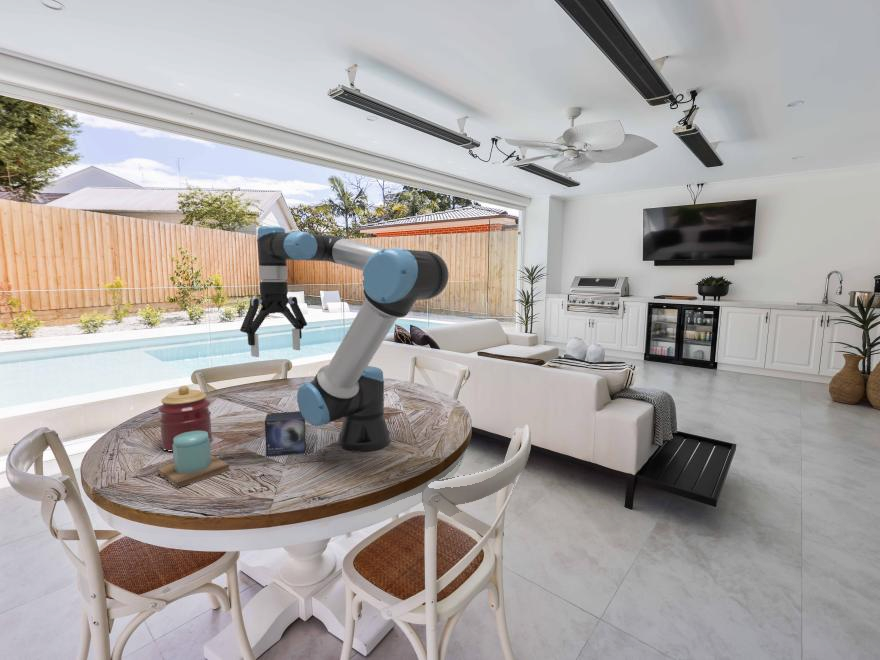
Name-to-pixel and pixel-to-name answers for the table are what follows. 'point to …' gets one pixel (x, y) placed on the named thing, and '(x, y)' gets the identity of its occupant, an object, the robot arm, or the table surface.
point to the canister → (183, 415)
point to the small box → (285, 433)
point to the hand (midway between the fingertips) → (276, 353)
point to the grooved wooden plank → (188, 478)
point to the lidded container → (191, 451)
